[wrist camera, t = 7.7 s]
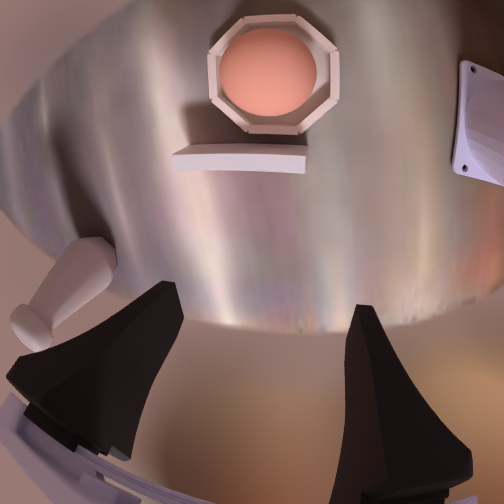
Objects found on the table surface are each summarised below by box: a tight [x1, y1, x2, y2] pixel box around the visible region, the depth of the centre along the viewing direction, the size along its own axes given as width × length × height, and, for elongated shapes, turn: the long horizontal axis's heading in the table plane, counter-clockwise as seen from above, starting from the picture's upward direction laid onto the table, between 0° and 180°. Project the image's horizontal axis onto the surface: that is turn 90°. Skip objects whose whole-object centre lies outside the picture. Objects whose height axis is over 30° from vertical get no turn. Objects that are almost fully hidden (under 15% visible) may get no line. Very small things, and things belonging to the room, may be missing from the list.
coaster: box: [207, 14, 339, 135], centre depth 14 cm, size 8×8×1 cm
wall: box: [171, 143, 308, 174], centre depth 17 cm, size 8×1×3 cm, turn 92°
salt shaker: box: [10, 237, 117, 352], centre depth 21 cm, size 6×6×13 cm
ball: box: [219, 28, 317, 116], centre depth 12 cm, size 5×5×5 cm
